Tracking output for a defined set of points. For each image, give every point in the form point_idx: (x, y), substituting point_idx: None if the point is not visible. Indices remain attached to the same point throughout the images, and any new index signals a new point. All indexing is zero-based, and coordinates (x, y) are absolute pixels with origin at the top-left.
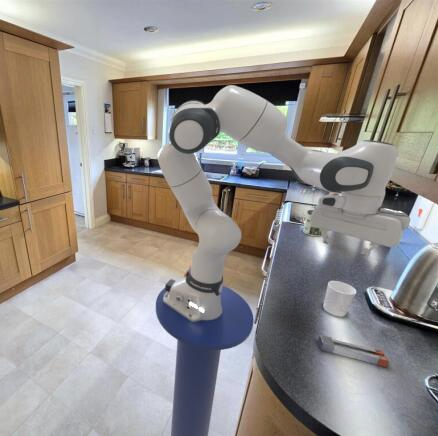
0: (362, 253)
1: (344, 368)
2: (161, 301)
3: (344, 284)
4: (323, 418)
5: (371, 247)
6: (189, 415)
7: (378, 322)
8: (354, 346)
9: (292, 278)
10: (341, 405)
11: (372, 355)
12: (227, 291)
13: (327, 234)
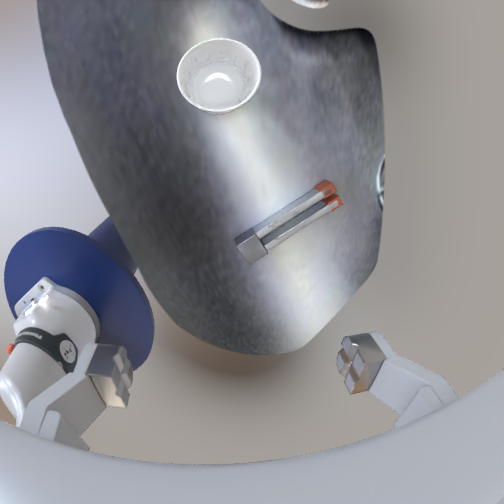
0: (346, 372)
1: (288, 261)
2: None
3: (217, 41)
4: (287, 349)
5: (397, 410)
6: None
7: (302, 58)
8: (293, 216)
9: (89, 50)
10: (298, 322)
11: (321, 213)
12: (44, 244)
13: (73, 391)
